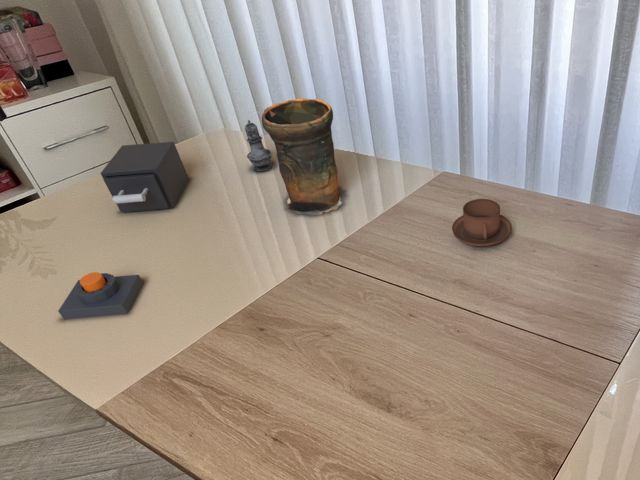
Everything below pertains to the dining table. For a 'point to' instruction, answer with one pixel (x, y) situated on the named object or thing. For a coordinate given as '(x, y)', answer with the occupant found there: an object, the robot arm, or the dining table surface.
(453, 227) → the cup and saucer
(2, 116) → the robot arm
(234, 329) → the dining table surface
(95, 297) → the control block
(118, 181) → the dark grey drawer
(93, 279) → the button
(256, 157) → the grey chess piece
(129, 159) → the small drawer cabinet
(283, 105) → the vessel
